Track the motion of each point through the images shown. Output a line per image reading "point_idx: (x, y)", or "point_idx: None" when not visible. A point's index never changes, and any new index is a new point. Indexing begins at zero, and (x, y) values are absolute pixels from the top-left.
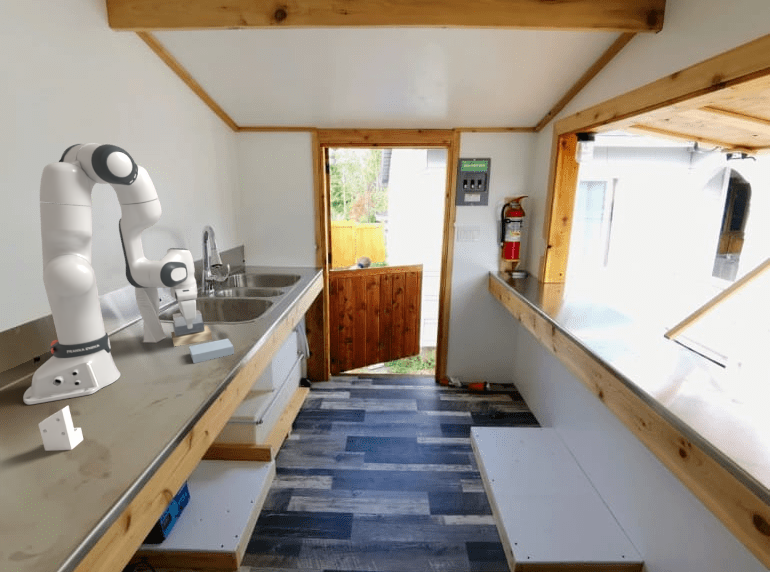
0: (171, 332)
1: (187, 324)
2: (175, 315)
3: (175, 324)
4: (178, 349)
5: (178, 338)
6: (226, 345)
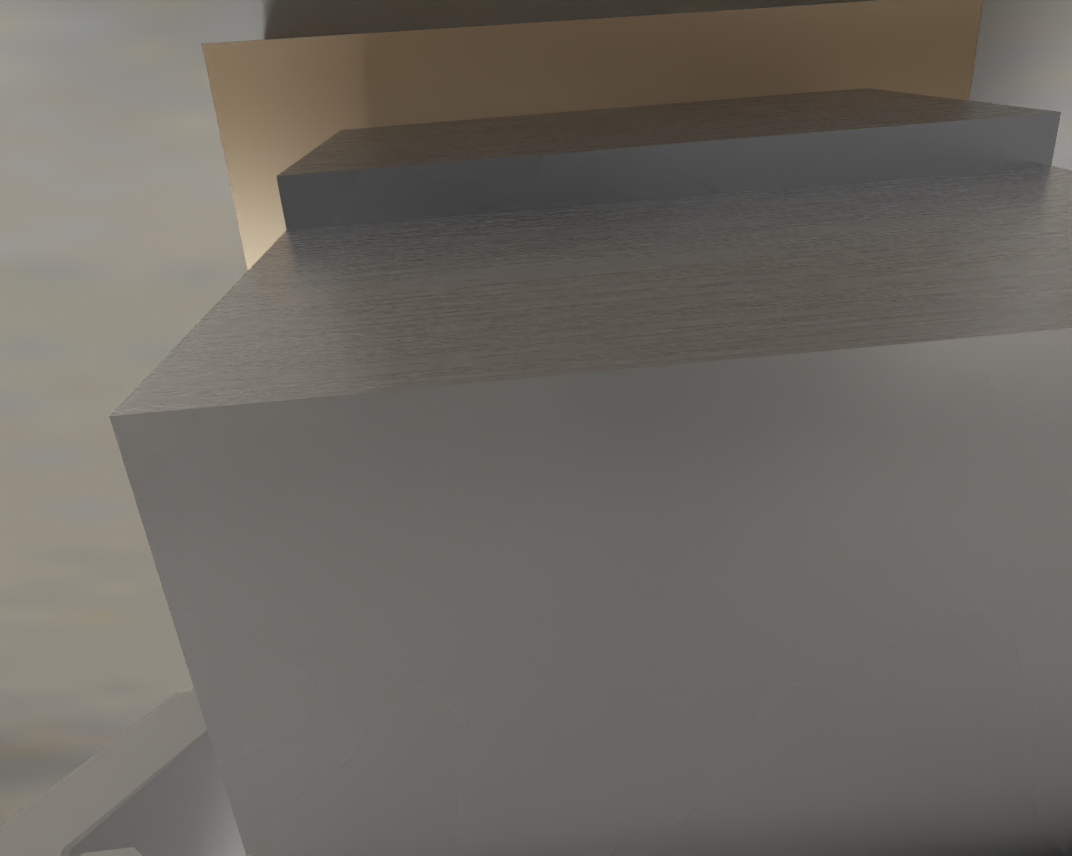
0: (935, 8)
1: (175, 704)
2: (913, 494)
3: (262, 274)
4: (32, 135)
5: (237, 199)
6: None
